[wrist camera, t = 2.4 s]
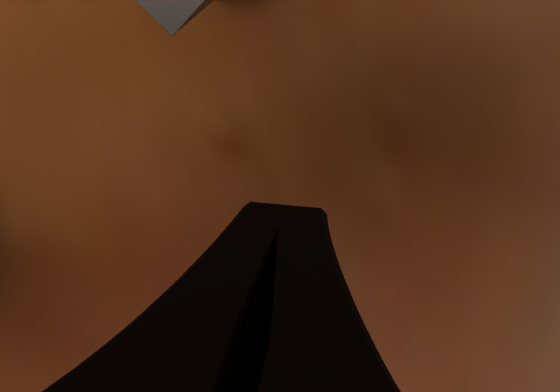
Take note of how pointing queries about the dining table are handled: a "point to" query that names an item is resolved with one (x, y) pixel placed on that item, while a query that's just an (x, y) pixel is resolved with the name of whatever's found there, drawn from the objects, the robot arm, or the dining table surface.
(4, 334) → the dining table surface
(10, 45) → the dining table surface
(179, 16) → the cam body
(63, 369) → the dining table surface
